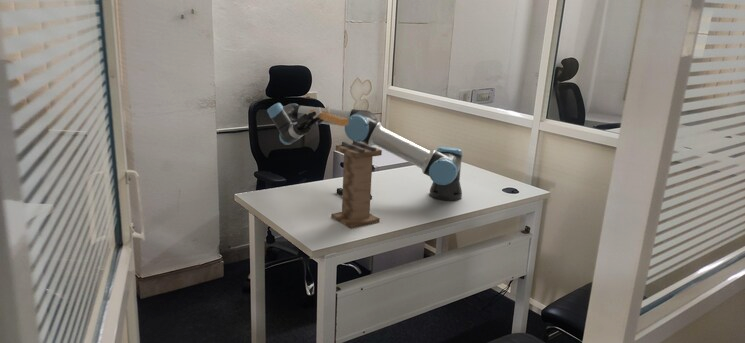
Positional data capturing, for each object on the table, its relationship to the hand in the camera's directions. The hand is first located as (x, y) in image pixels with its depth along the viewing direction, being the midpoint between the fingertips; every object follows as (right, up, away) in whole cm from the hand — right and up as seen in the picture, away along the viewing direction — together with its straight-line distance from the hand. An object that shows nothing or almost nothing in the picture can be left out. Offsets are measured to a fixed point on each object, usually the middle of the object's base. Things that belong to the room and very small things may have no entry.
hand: (324, 109), depth 226 cm
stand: (+13, -45, -8) cm, 48 cm away
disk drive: (+12, -38, +21) cm, 45 cm away
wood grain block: (+2, -4, -1) cm, 5 cm away
